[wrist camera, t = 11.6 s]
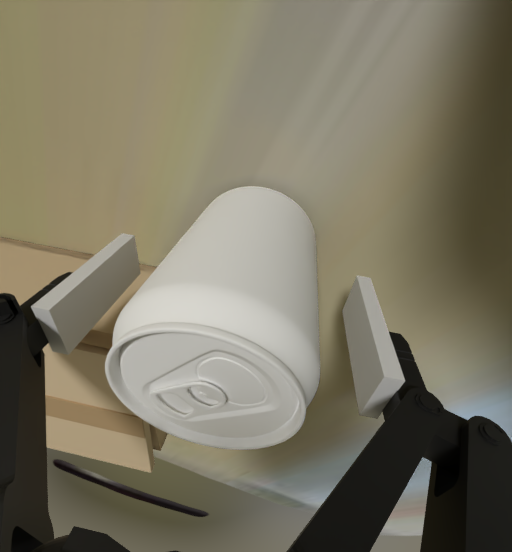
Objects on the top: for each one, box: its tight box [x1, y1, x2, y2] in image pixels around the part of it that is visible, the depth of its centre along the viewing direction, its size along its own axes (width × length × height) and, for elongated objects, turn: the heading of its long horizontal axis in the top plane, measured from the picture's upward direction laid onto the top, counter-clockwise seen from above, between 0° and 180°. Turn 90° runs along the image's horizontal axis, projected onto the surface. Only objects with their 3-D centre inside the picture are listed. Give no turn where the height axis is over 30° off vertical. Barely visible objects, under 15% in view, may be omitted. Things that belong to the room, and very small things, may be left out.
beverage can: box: [105, 186, 320, 450], centre depth 14 cm, size 8×8×12 cm
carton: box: [0, 237, 168, 451], centre depth 23 cm, size 13×22×8 cm, turn 83°
